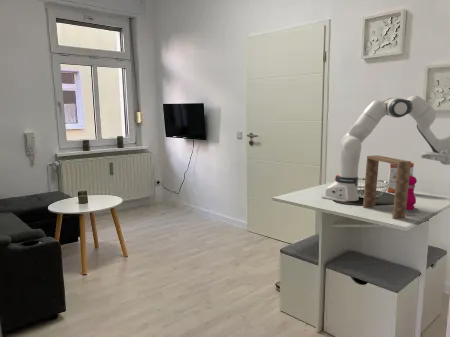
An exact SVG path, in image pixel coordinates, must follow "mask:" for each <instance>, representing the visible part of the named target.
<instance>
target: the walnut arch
mask: <svg viewBox="0 0 450 337" xmlns="http://www.w3.org/2000/svg"><path fill="white" fill-rule="evenodd" d="M380 162H382V163H388V164H390V163H392V164H397V176H396V186H395V193H394V198H393V209H392V220H397V219H405V218H406V215H407V214H406V213H407V212H406V206H407V196H408V186H409V176H410V166H411V162H412V161H410V160H404V159H400V158H395V157H389V156H382V155H367V156H366V165H365V166H366V167H365V169H366V170H365V179H364V190H363V192H364V193H363V202H362V207H363V209H367V208H375V207H376V200H377V198H376V197H377V187H378V175H379V163H380Z"/></svg>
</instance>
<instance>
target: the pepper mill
mask: <svg viewBox="0 0 450 337" xmlns="http://www.w3.org/2000/svg"><path fill="white" fill-rule="evenodd" d="M416 184H417V178H416V177H415V176H414V174H412V173H410V176H409V186H408V196H407V206H406V210H414V208H415V204H416V203H417V199H416V195H415V193H414V192H415V190H414V189H415V188H416Z"/></svg>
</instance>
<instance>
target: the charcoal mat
mask: <svg viewBox="0 0 450 337" xmlns="http://www.w3.org/2000/svg"><path fill="white" fill-rule="evenodd" d="M419 211H420V210H419V209H418V208H416V207H414V210H406V213H409V214H410V213H412V214H413V213H415V212H416V213H418V212H419Z"/></svg>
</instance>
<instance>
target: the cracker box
mask: <svg viewBox="0 0 450 337" xmlns="http://www.w3.org/2000/svg"><path fill="white" fill-rule="evenodd" d="M388 166H389V167H388V177H387V184H389V186H388V189H387V188H386V191H387V193H392V194H395V186H396V176H397V164H392V163H389V165H388ZM414 166H415V165H414V162H412V161H411V166H410V173H412V174H413V173H414ZM413 175H414V174H413Z"/></svg>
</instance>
